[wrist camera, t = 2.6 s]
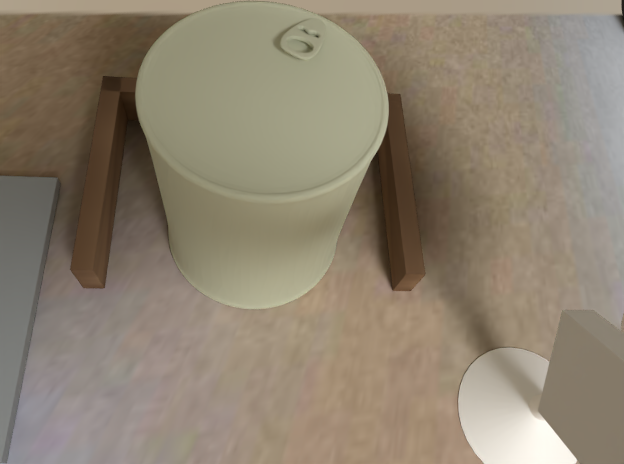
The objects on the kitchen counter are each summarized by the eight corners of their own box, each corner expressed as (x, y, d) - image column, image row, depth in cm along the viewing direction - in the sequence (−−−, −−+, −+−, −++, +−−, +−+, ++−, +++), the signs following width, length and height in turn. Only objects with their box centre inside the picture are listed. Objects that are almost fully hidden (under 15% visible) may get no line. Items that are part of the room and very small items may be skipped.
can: (362, 204, 31) (431, 54, 20) (288, 342, 27) (326, 244, 16) (225, 135, 32) (221, -45, 21) (133, 257, 28) (71, 111, 17)
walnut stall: (389, 120, 34) (400, 94, 32) (410, 291, 29) (425, 274, 27) (112, 105, 32) (103, 76, 29) (83, 288, 27) (70, 269, 24)
